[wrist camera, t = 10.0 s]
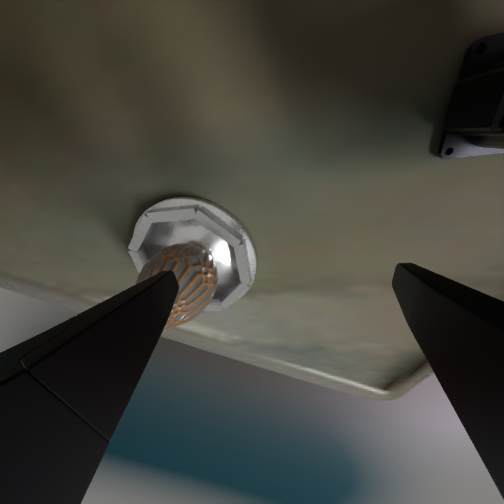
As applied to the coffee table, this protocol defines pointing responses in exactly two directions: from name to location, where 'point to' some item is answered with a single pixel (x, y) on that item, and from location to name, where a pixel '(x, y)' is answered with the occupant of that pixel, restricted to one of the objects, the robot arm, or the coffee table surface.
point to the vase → (185, 279)
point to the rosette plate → (199, 242)
